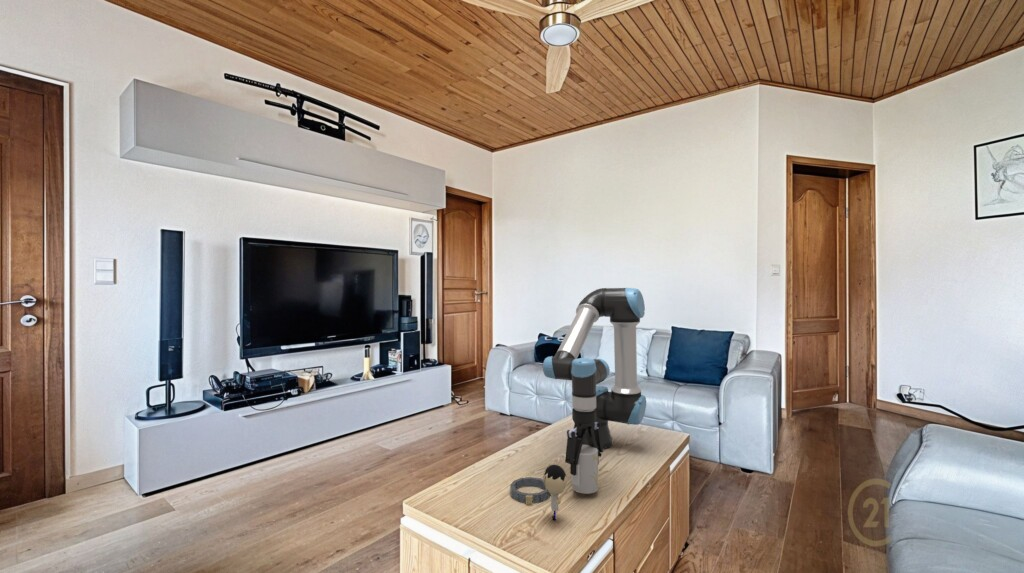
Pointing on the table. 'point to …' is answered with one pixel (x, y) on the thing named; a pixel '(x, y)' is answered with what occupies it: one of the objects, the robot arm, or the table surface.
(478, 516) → the table surface
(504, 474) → the table surface
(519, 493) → the collar
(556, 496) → the toy
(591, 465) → the grey cylinder
